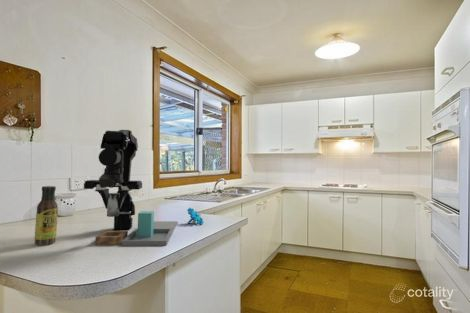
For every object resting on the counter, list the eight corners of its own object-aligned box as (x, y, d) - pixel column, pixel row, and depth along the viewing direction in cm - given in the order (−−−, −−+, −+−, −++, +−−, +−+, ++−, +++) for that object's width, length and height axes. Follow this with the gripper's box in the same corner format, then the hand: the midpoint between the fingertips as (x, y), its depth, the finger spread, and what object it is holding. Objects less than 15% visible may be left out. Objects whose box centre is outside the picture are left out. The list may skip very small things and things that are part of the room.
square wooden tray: (95, 245, 95) (95, 237, 95) (104, 239, 104) (104, 231, 104) (120, 245, 96) (120, 237, 96) (127, 239, 105) (127, 231, 105)
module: (137, 237, 106) (138, 213, 106) (140, 233, 111) (141, 211, 111) (150, 236, 107) (151, 213, 107) (153, 233, 112) (154, 211, 112)
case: (121, 246, 95) (121, 241, 95) (145, 223, 131) (145, 219, 131) (166, 246, 96) (166, 240, 96) (177, 223, 132) (177, 219, 132)
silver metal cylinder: (105, 216, 98) (105, 194, 98) (109, 214, 102) (109, 192, 102) (116, 216, 98) (117, 194, 98) (120, 214, 102) (121, 192, 102)
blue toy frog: (199, 223, 126) (186, 206, 129) (189, 232, 127) (177, 215, 130) (208, 222, 136) (195, 206, 140) (199, 230, 137) (187, 214, 140)
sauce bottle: (42, 247, 93) (44, 187, 93) (30, 244, 95) (32, 186, 95) (60, 242, 99) (62, 186, 99) (48, 240, 101) (50, 185, 101)
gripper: (77, 165, 92) (75, 212, 91) (135, 166, 93) (133, 213, 93) (91, 164, 103) (89, 207, 102) (143, 165, 105) (141, 207, 104)
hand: (113, 208), depth 100 cm, fingers closed on silver metal cylinder, 4 cm apart
